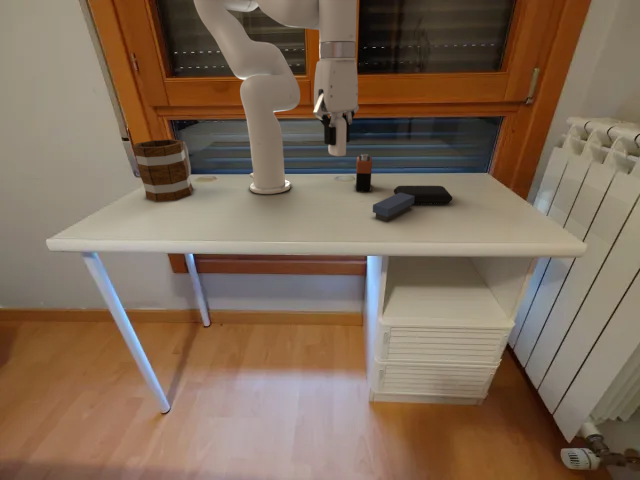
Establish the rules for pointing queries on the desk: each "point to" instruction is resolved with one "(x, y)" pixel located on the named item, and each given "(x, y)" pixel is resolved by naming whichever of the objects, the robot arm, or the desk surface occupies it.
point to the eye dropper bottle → (339, 136)
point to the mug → (164, 169)
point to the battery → (363, 173)
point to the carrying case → (426, 194)
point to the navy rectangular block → (393, 206)
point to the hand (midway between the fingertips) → (337, 142)
